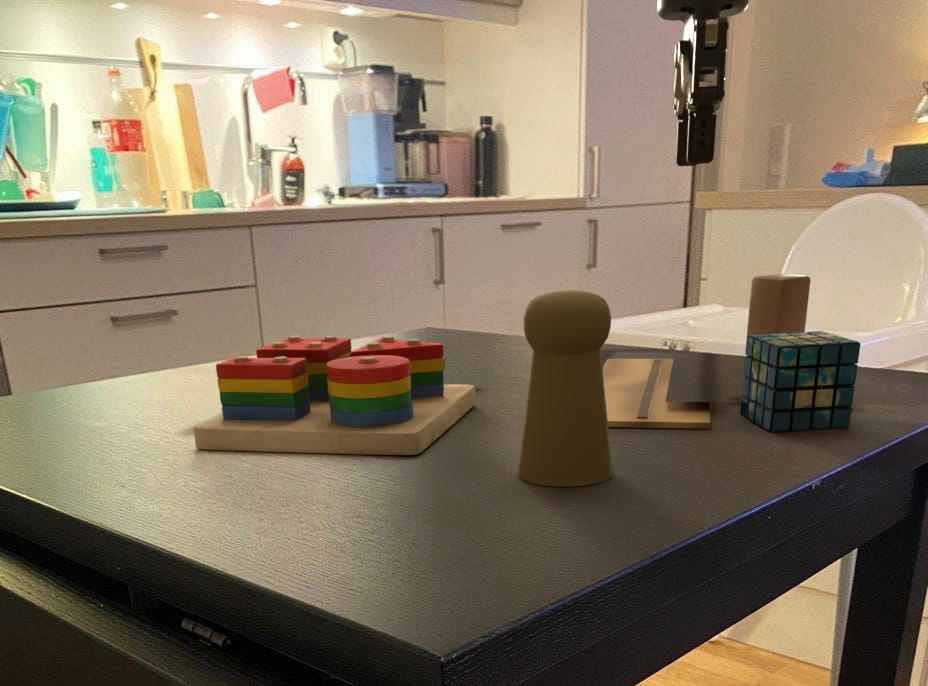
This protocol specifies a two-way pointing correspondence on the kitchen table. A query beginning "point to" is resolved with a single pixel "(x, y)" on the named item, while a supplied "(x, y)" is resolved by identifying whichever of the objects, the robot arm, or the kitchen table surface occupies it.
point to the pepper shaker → (566, 391)
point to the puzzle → (799, 380)
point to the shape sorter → (335, 398)
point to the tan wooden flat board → (647, 397)
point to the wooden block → (778, 304)
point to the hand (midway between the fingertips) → (693, 164)
